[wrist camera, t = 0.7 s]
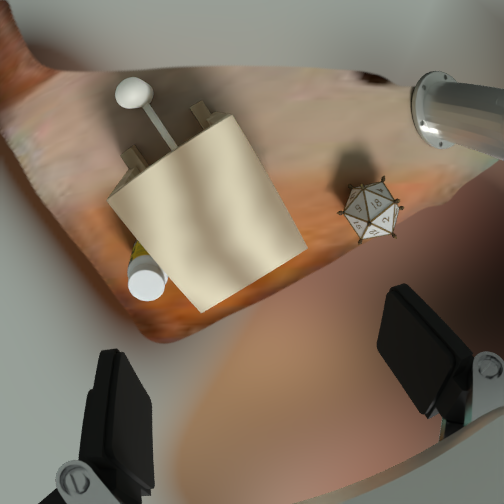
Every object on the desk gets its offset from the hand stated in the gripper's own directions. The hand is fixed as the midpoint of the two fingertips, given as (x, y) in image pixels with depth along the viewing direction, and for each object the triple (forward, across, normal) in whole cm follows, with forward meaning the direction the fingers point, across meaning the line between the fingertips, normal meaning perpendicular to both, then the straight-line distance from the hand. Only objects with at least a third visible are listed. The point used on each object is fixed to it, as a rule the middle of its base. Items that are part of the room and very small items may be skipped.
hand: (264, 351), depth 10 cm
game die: (+29, -20, +8) cm, 36 cm away
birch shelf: (+29, +1, +2) cm, 29 cm away
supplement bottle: (+29, +9, +9) cm, 32 cm away
